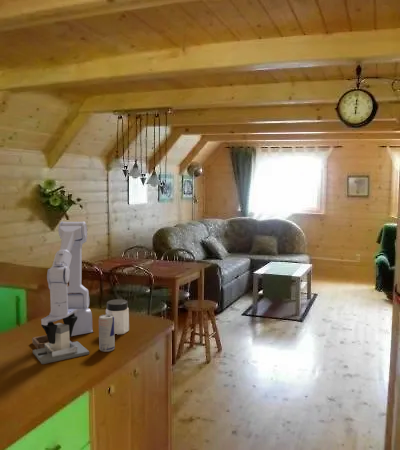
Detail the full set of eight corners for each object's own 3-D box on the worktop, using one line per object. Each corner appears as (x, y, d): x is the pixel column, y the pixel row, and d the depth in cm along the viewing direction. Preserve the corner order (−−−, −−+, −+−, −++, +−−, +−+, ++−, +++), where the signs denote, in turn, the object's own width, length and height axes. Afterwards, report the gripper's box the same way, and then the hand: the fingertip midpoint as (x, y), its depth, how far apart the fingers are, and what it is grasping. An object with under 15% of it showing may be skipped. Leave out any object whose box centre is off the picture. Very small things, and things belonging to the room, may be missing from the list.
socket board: (77, 343, 171) (77, 336, 171) (89, 354, 161) (88, 345, 161) (32, 352, 162) (32, 344, 162) (42, 364, 152) (41, 355, 152)
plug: (59, 347, 165) (58, 322, 164) (69, 350, 162) (69, 324, 161) (50, 351, 161) (49, 325, 160) (61, 353, 159) (60, 328, 158)
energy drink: (117, 347, 167) (116, 315, 166) (109, 352, 162) (109, 319, 161) (104, 345, 169) (103, 313, 168) (96, 350, 164) (95, 317, 163)
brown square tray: (52, 339, 176) (51, 334, 176) (58, 345, 169) (58, 340, 169) (32, 343, 172) (32, 337, 172) (38, 349, 165) (38, 344, 165)
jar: (106, 335, 180) (105, 305, 179) (105, 329, 188) (105, 299, 187) (129, 333, 182) (129, 303, 181) (128, 327, 190) (127, 298, 189)
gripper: (66, 295, 168) (67, 331, 169) (34, 304, 155) (35, 344, 157) (80, 297, 165) (81, 335, 166) (49, 307, 152) (50, 348, 153)
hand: (60, 339), depth 161 cm, fingers open, 7 cm apart
